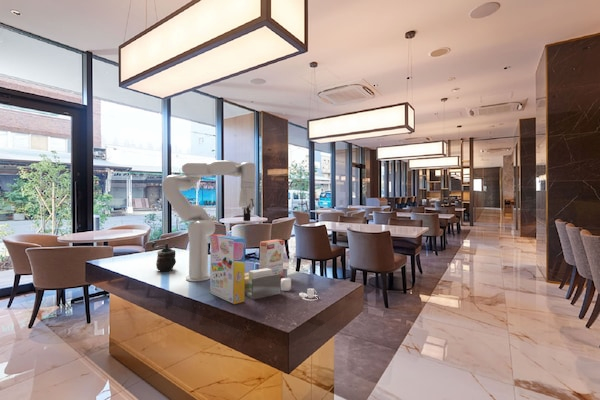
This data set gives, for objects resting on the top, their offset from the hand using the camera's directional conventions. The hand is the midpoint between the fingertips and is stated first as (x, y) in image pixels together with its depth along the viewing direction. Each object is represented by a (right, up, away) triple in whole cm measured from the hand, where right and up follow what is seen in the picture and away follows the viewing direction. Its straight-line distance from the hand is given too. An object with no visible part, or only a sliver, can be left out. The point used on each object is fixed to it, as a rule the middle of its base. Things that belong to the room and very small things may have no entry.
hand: (246, 220), depth 156 cm
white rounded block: (+21, -33, -12) cm, 40 cm away
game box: (-5, -32, -25) cm, 41 cm away
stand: (+7, -32, -15) cm, 36 cm away
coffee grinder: (-54, -32, +22) cm, 66 cm away
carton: (+8, -26, -16) cm, 32 cm away
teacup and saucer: (+32, -33, -20) cm, 50 cm away
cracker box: (+12, -33, +8) cm, 36 cm away
